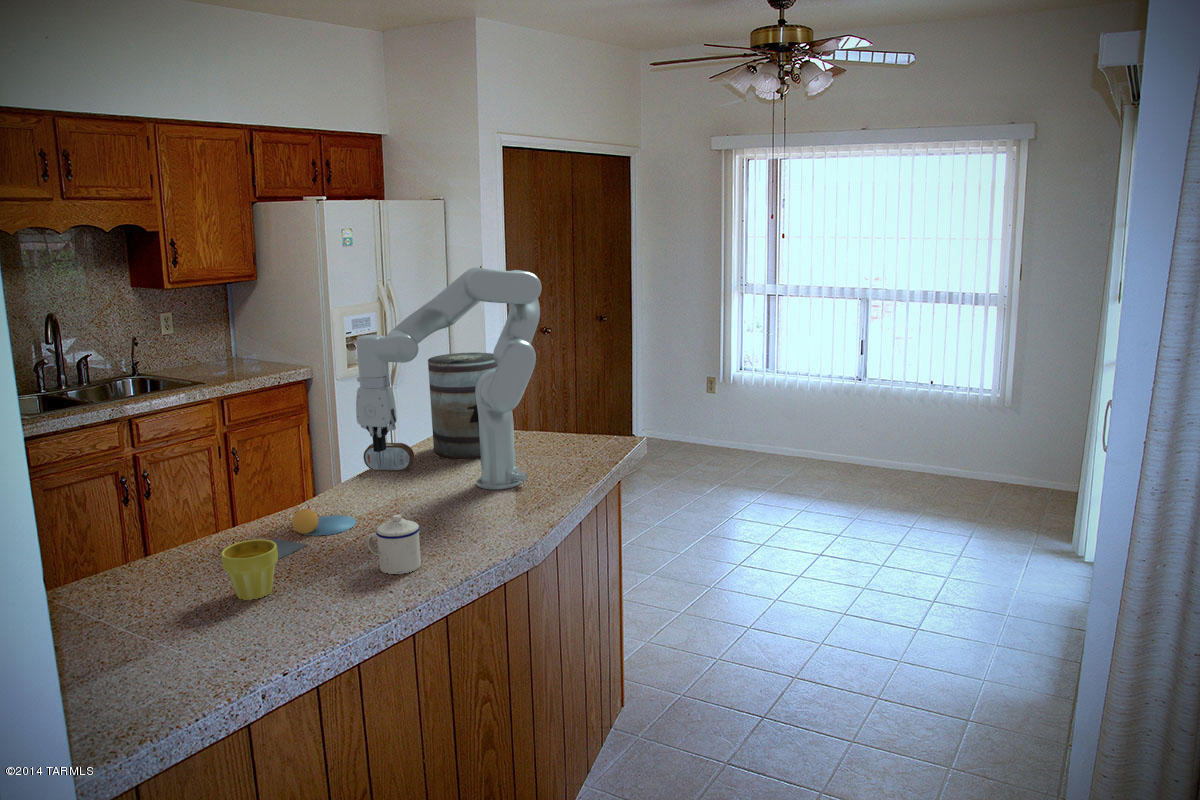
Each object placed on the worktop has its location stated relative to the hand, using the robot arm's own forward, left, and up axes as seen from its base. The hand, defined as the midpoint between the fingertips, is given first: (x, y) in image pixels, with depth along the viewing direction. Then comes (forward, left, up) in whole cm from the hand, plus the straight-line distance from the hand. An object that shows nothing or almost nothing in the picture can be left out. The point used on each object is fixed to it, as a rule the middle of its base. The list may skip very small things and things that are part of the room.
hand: (380, 450), depth 233 cm
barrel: (+6, -51, -14) cm, 53 cm away
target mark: (0, +22, -13) cm, 26 cm away
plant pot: (-14, +59, -14) cm, 62 cm away
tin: (+16, -23, -14) cm, 31 cm away
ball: (+1, +28, -10) cm, 30 cm away
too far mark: (0, +39, -13) cm, 41 cm away
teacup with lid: (-32, +37, -14) cm, 51 cm away
